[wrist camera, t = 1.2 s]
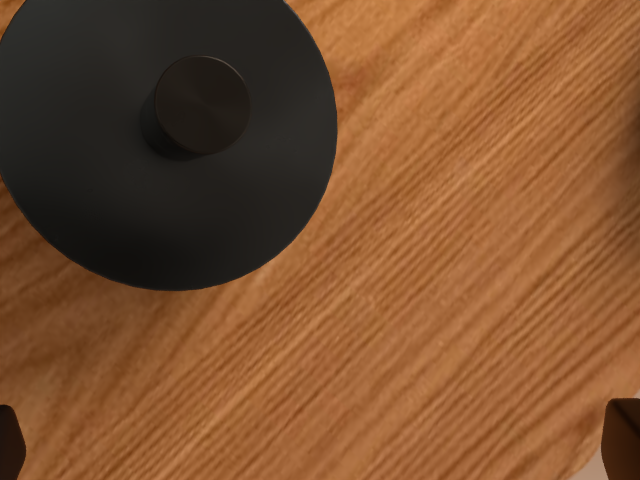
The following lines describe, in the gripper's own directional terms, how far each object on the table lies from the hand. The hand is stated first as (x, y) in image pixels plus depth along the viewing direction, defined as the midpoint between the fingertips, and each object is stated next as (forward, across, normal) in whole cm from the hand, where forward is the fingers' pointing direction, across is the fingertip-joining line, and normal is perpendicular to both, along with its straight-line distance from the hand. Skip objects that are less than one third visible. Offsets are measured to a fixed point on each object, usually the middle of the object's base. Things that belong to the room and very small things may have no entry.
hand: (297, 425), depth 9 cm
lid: (+11, +5, -2) cm, 13 cm away
